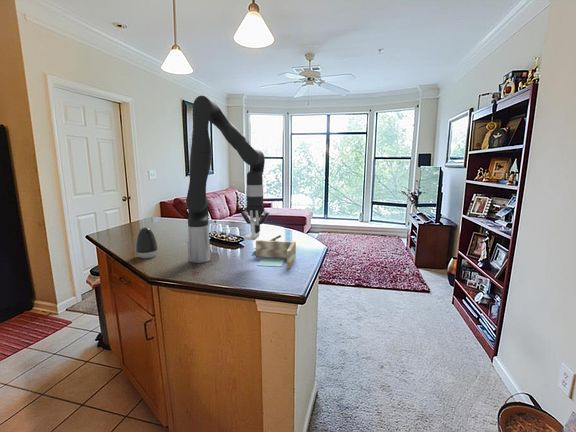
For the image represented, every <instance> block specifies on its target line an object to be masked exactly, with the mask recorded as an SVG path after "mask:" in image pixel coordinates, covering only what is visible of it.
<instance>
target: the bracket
mask: <svg viewBox="0 0 576 432" xmlns="http://www.w3.org/2000/svg"><path fill="white" fill-rule="evenodd" d="M258 237H260V232H259V233H256V219H254V221H253V222H251V225H250V232H249V233H247V234H246V235H244V236H243V240H244V241H245V240H246V241H256V240H257V239H258Z"/></svg>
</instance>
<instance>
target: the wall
mask: <svg viewBox="0 0 576 432" xmlns="http://www.w3.org/2000/svg"><path fill="white" fill-rule="evenodd" d="M281 237H282V234H279V235H277V236H274V237H273V238H271V239H269V240H268V241H277V240H278V239H279V238H281ZM252 250H256V247H255V248H253V249H252Z"/></svg>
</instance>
